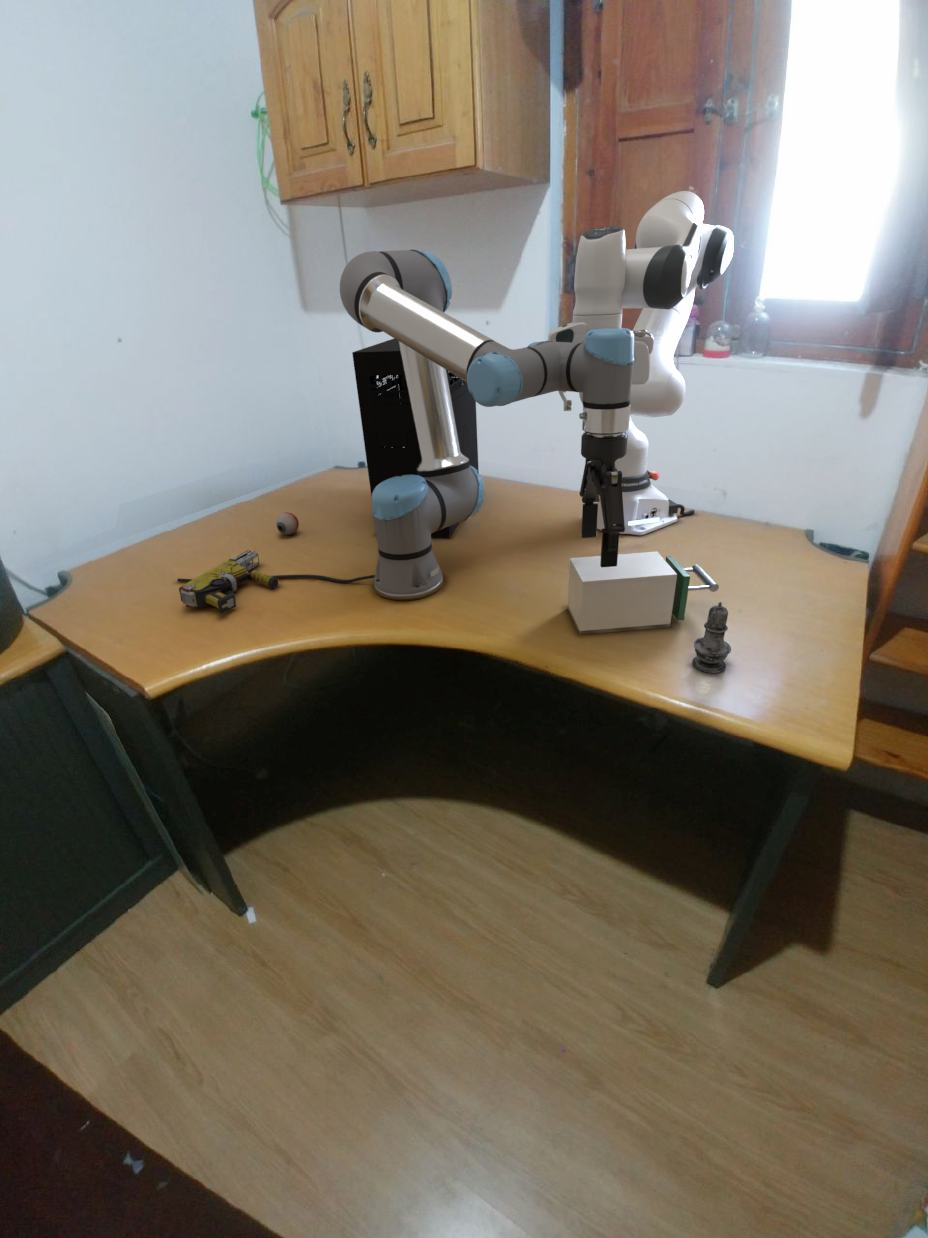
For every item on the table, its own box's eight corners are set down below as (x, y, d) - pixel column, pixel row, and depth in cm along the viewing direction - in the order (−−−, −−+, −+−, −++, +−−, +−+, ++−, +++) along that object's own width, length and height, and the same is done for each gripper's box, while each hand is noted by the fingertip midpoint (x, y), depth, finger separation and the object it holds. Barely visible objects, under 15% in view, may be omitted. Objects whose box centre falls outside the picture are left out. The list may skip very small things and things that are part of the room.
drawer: (694, 595, 122) (701, 553, 117) (714, 617, 114) (722, 573, 109) (587, 604, 121) (590, 562, 116) (599, 627, 113) (603, 583, 108)
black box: (449, 537, 157) (436, 349, 134) (376, 534, 161) (352, 352, 139) (479, 491, 188) (473, 332, 166) (417, 489, 193) (403, 335, 170)
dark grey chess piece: (730, 675, 99) (743, 611, 93) (692, 672, 100) (703, 609, 94) (724, 655, 104) (736, 594, 98) (688, 653, 105) (698, 592, 99)
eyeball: (273, 537, 164) (268, 516, 161) (287, 528, 169) (282, 508, 166) (291, 539, 161) (286, 518, 158) (305, 530, 166) (301, 510, 163)
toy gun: (299, 558, 143) (245, 547, 147) (233, 601, 123) (173, 587, 126) (300, 576, 145) (248, 565, 149) (236, 621, 125) (177, 606, 129)
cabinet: (651, 601, 122) (657, 551, 117) (669, 627, 114) (677, 574, 108) (567, 608, 122) (569, 557, 116) (579, 634, 113) (582, 581, 107)
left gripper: (565, 418, 110) (563, 527, 121) (602, 452, 89) (595, 582, 99) (606, 415, 111) (600, 524, 121) (653, 448, 89) (640, 578, 99)
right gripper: (651, 327, 112) (644, 405, 119) (541, 332, 114) (539, 407, 121) (657, 330, 107) (649, 411, 113) (541, 334, 109) (539, 414, 116)
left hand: (598, 550), depth 110 cm, fingers open, 13 cm apart
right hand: (591, 409), depth 117 cm, fingers open, 8 cm apart
